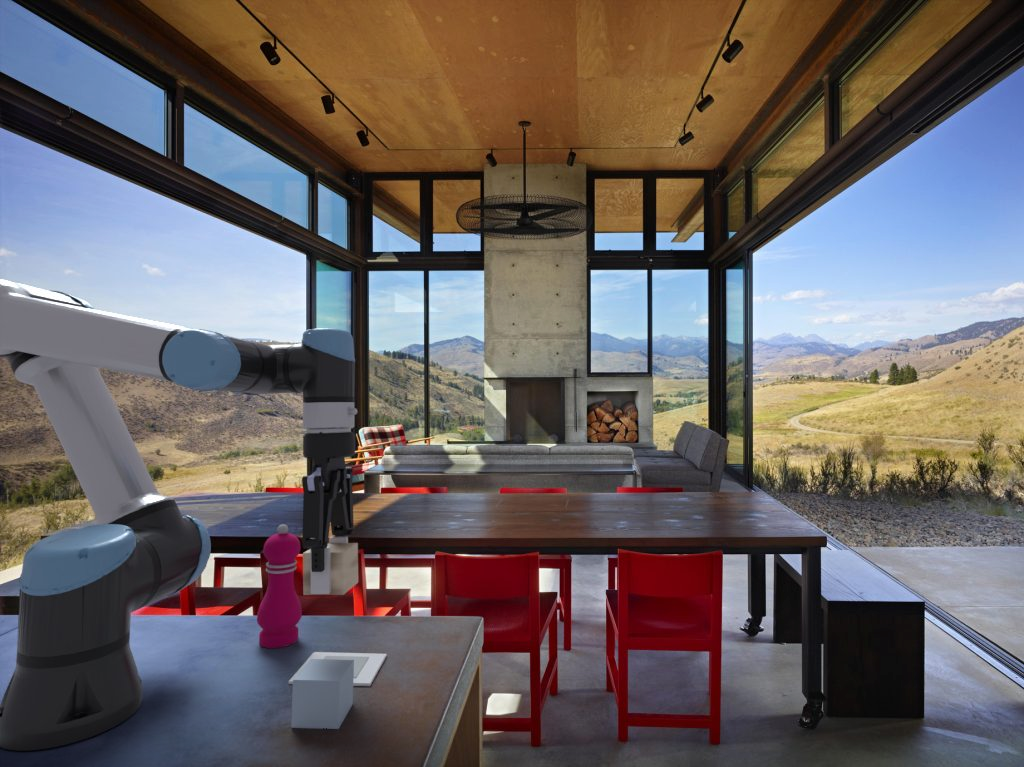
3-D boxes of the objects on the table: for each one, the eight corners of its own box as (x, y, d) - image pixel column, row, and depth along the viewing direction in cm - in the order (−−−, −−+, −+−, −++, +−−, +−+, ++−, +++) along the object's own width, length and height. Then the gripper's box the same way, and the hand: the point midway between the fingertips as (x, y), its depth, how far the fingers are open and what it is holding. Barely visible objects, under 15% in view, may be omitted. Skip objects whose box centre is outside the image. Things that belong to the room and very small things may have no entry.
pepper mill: (263, 653, 92) (268, 530, 93) (250, 639, 97) (254, 523, 98) (307, 642, 97) (311, 525, 98) (292, 629, 102) (296, 518, 103)
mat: (288, 684, 82) (288, 680, 82) (313, 654, 92) (314, 651, 92) (369, 686, 82) (370, 682, 82) (386, 656, 92) (386, 653, 92)
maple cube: (303, 595, 81) (302, 552, 81) (320, 582, 87) (320, 543, 87) (343, 594, 81) (343, 552, 81) (358, 582, 87) (357, 542, 87)
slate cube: (291, 728, 71) (292, 679, 71) (309, 703, 77) (310, 658, 77) (338, 729, 71) (339, 680, 71) (352, 704, 77) (354, 659, 77)
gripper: (327, 432, 75) (328, 608, 74) (373, 428, 94) (375, 568, 93) (274, 434, 76) (274, 607, 75) (330, 429, 95) (331, 568, 94)
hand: (330, 585), depth 84 cm, fingers closed on maple cube, 6 cm apart
